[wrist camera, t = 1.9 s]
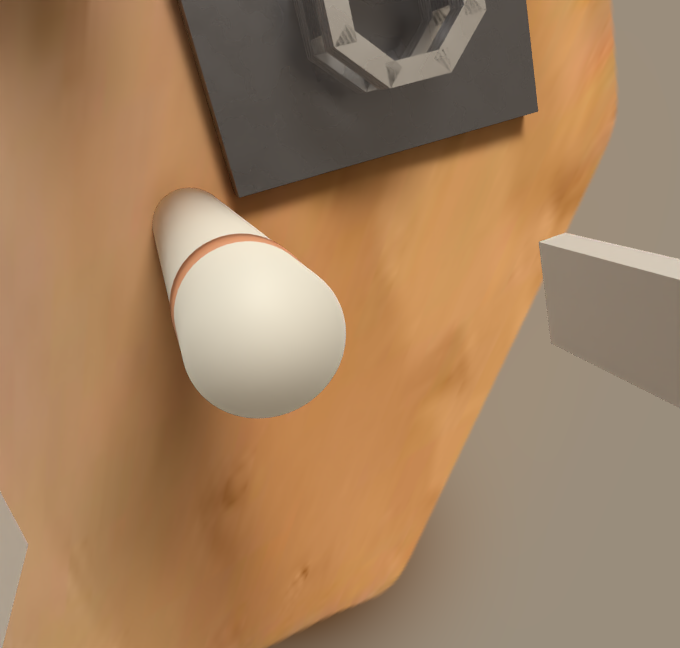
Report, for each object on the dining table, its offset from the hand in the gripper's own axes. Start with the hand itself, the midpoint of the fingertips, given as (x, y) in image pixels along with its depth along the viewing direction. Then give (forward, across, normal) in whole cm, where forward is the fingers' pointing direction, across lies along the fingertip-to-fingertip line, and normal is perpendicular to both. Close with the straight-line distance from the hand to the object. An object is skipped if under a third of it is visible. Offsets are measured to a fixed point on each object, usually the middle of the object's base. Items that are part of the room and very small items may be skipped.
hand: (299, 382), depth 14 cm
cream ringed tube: (+25, 0, 0) cm, 25 cm away
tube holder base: (+25, +13, +9) cm, 29 cm away
